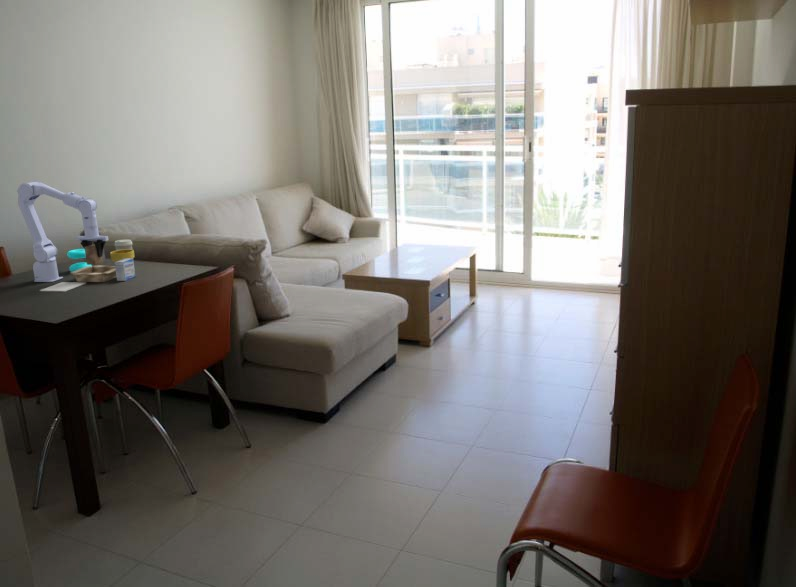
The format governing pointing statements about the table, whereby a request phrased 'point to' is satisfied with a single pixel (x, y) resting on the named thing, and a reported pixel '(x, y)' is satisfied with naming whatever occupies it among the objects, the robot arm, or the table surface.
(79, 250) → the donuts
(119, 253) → the plant pot
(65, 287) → the felt mat
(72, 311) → the table surface
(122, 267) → the medicine box
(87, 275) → the carton
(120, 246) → the coffee cup
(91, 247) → the walnut box
